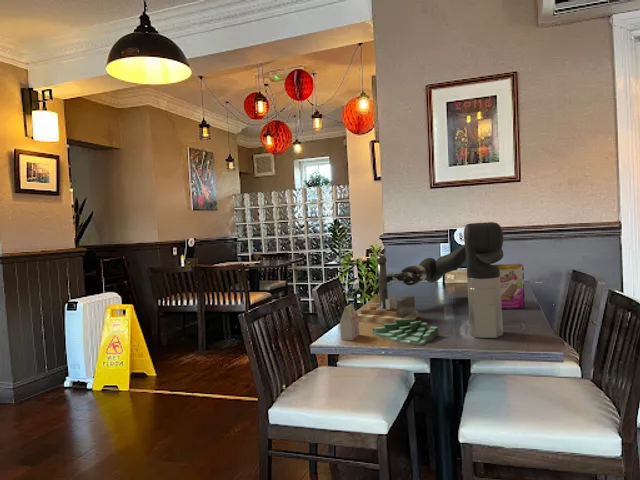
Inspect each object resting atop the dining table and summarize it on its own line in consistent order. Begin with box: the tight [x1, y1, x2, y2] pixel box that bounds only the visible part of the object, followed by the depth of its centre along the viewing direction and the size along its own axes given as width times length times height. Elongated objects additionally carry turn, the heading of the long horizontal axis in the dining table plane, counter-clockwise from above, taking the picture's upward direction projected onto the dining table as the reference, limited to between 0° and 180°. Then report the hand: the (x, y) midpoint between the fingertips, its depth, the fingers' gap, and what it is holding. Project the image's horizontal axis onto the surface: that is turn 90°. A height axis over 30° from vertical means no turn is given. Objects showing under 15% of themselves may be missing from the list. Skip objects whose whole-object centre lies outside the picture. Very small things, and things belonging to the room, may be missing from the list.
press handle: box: [376, 254, 397, 312], centre depth 170 cm, size 6×5×21 cm
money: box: [371, 318, 439, 346], centre depth 144 cm, size 20×16×5 cm
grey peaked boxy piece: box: [339, 303, 360, 341], centre depth 147 cm, size 4×7×10 cm, turn 157°
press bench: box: [357, 295, 419, 325], centre depth 170 cm, size 18×14×8 cm
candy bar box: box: [494, 263, 526, 310], centre depth 176 cm, size 11×5×16 cm, turn 84°
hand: (394, 280), depth 177 cm, fingers open, 8 cm apart
